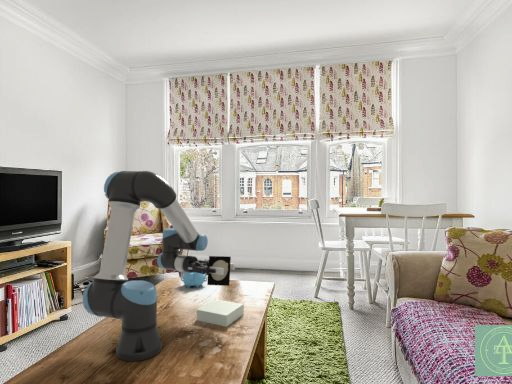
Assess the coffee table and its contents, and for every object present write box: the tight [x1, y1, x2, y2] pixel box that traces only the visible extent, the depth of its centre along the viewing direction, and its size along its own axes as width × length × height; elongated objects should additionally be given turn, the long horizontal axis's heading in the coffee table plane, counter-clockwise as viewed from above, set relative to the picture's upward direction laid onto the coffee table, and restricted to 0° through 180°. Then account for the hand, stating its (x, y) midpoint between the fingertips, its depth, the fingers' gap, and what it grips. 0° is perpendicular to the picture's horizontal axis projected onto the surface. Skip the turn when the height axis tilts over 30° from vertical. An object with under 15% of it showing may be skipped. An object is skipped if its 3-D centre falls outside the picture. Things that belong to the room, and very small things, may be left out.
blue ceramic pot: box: [180, 272, 208, 288], centre depth 194 cm, size 13×14×11 cm
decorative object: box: [206, 255, 232, 287], centre depth 146 cm, size 12×10×10 cm
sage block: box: [196, 298, 245, 327], centre depth 146 cm, size 15×15×5 cm
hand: (228, 269), depth 144 cm, fingers closed on decorative object, 9 cm apart
